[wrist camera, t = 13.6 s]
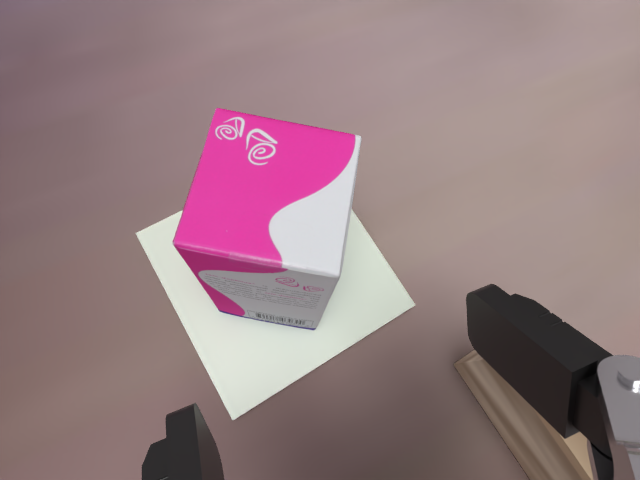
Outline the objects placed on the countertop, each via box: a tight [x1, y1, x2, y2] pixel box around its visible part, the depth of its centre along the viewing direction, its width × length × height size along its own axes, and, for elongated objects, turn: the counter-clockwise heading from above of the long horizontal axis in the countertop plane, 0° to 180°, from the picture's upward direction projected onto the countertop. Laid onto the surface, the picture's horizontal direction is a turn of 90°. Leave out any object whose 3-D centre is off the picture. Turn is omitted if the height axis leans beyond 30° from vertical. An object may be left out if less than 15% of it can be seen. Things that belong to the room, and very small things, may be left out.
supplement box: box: [172, 108, 361, 330], centre depth 21 cm, size 6×6×12 cm
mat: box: [136, 209, 415, 420], centre depth 27 cm, size 12×12×1 cm
